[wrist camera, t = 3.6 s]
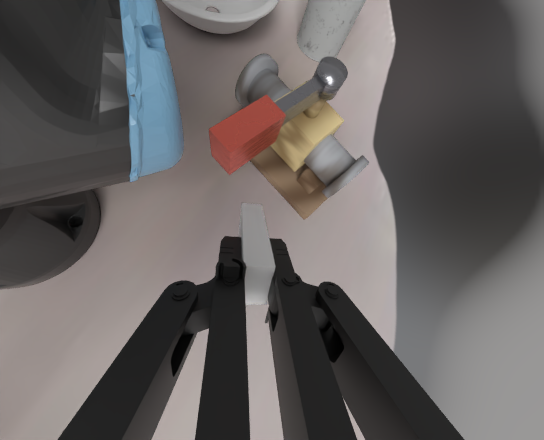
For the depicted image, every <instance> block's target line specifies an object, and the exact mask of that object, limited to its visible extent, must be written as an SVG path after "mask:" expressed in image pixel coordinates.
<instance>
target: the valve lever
mask: <svg viewBox="0 0 544 440" xmlns="http://www.w3.org/2000/svg"><path fill="white" fill-rule="evenodd" d="M347 75H348V72H347V69H346V67H345V65H344V64H343V63H342V62H341V61H340V60H338V59H337V58H334V57H330V56H327V57H324V58H322V59H321V61H320V63H319V65H318V67H317V69H316V71H315V74H314V76H313V78H312V79H311V80H309V81H308V82H306V83H305V84H303V85H301V86H300V87H298V88H297V89H295V90H293V91H292V92H290V93H289V94H287V95H285V96H284V97H282V98H281V99H279V100H277V101H276V102H273V101H272V99H271V98H270V97H269V96H268V95H265V96H263V97H262V98H260V99H258V100H257V101H255V102H253V103H251V104H250V105H248V106H246V107H245V108H243V109H241V110H240V111H238V112H236V113H235V114H233V115H231V116H230V117H228V118H226V119H225V120H223V121H221V122H220V123H218V124H216V125H215V126H213V127H211V128H210V129H209V136H210V144H211V153H212V156H213V157H214V158H215V160H216V161H217V162H218V163H219V164H220V165H221V166H222V167H223V168H224V169H225V171H226V172H227V173H228V174H229V175H230V174H231V173H233V172H234V171H236V170H237V169H238V168H240V167H241V166H242V165H244V164H245V163H247V162H248V161H249V160H251V159H252V158H254V157H255V156H256V155H258V154H259V153H260V152H262V151H263V150H265V149H266V148H267V147H269V146H270V145H272V144H273V143H274V142H276V139H277V137H278V134H279V132H280V129H281V127H282V126H283V125H284V124H286V123H287V122H289V121H290V120H291V119H293V118H294V117H296V116H297V115H299V114H300V113H301V112H303V111H304V110H306V109H307V108H309V107H310V106H312V105H313V104H314V103H316V102H317V101H319V100H320V99H322V100H331V99H333V98H334V97H335V95H336V93H337V92H338V90H339V89H340V87H341V86H342V84H343V82H344V81H345V79H346V78H347Z"/></svg>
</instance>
